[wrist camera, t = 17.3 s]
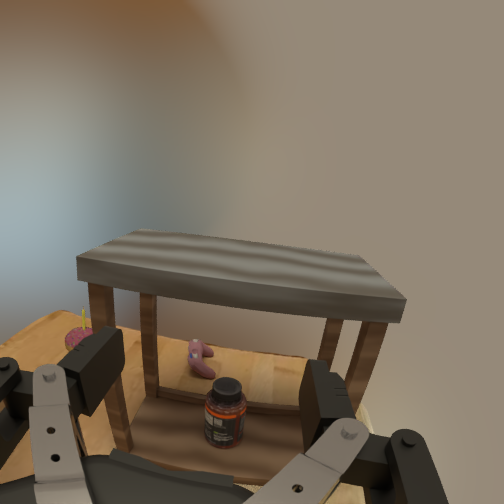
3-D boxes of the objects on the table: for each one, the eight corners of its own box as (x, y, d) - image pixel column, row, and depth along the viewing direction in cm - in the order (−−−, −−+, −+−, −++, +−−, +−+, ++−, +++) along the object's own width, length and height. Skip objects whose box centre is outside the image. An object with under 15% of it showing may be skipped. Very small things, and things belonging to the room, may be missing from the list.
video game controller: (197, 359, 68) (184, 336, 65) (215, 353, 68) (202, 329, 66) (197, 385, 58) (182, 361, 56) (217, 379, 58) (203, 353, 56)
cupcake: (78, 344, 61) (72, 298, 58) (109, 352, 61) (104, 305, 58) (61, 363, 52) (52, 314, 49) (94, 372, 53) (86, 322, 50)
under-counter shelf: (325, 489, 33) (406, 299, 25) (112, 457, 34) (76, 256, 26) (315, 418, 49) (358, 255, 42) (146, 394, 50) (141, 228, 43)
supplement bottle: (237, 422, 45) (244, 371, 42) (245, 448, 39) (254, 397, 36) (201, 424, 43) (203, 372, 40) (206, 451, 37) (209, 400, 35)
